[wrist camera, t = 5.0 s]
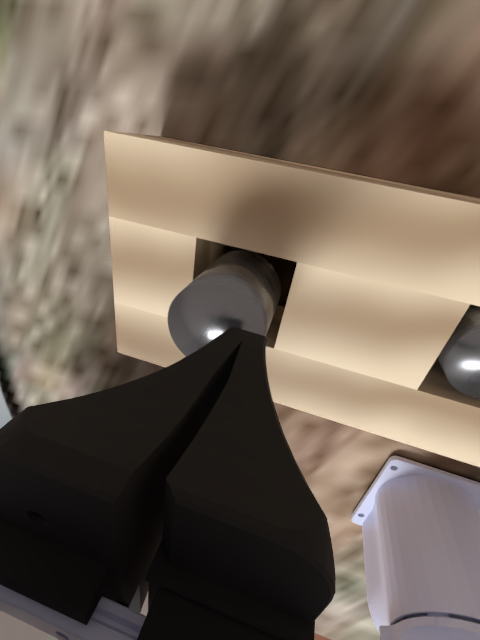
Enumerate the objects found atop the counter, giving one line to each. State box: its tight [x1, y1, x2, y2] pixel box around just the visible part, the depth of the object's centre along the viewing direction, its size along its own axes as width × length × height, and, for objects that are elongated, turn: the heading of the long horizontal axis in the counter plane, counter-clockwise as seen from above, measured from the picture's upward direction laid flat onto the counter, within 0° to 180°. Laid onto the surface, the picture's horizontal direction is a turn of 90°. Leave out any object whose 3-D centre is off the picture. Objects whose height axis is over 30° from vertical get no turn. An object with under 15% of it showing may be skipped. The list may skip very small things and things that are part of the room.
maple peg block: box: [104, 131, 480, 467], centre depth 16 cm, size 12×26×5 cm, turn 80°
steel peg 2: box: [437, 304, 480, 399], centre depth 15 cm, size 4×4×5 cm
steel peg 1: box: [168, 250, 281, 356], centre depth 14 cm, size 4×4×5 cm
